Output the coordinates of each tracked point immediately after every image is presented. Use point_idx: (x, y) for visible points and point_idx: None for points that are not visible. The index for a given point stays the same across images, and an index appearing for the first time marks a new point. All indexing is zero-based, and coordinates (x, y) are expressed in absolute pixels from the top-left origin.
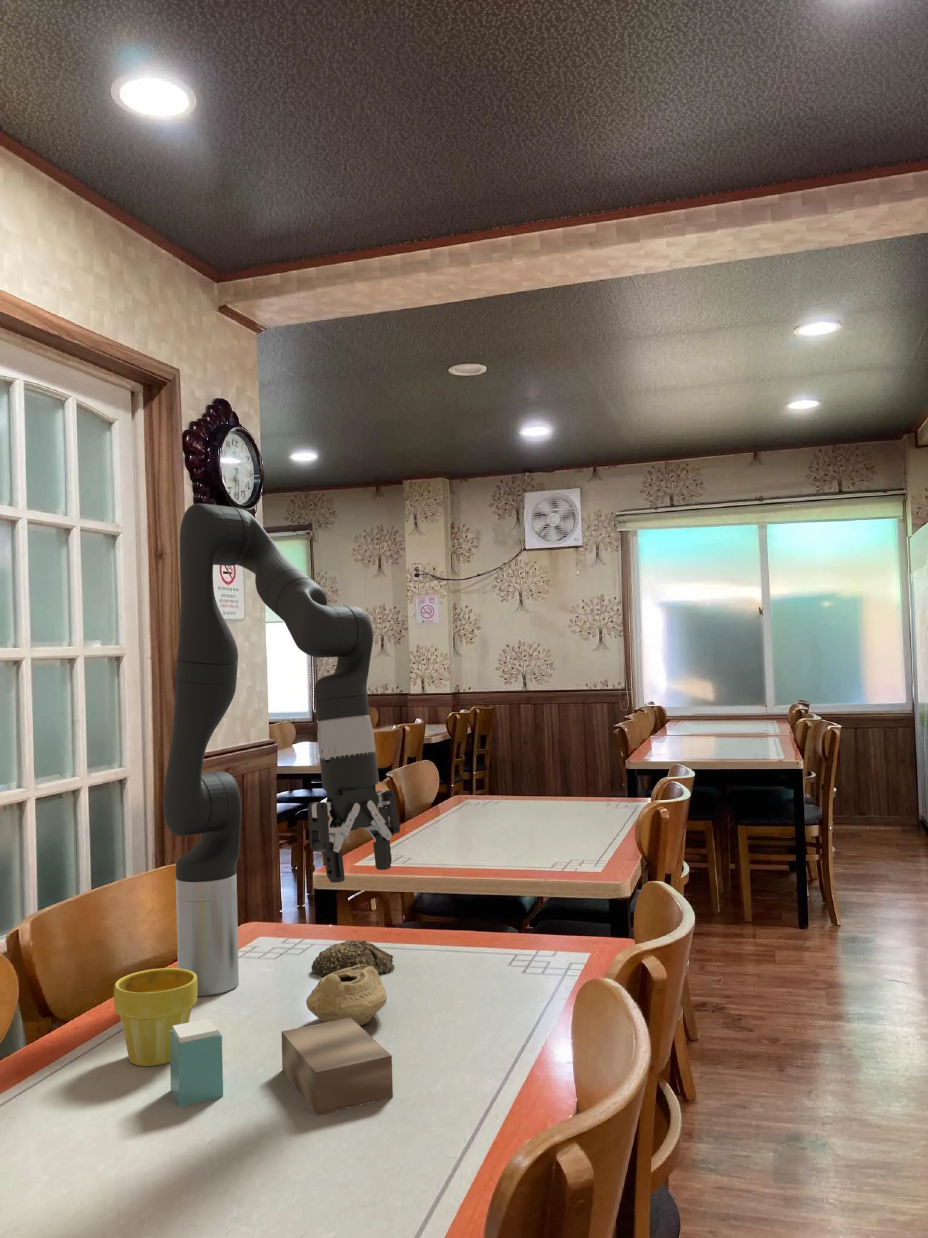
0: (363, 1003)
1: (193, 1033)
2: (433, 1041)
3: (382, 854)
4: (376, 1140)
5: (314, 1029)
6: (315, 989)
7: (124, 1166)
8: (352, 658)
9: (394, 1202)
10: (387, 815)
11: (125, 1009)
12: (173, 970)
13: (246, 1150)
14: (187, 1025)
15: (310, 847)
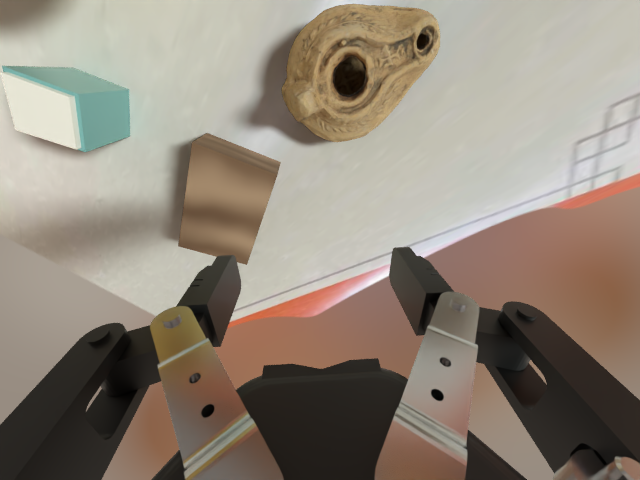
0: (329, 137)
1: (36, 132)
2: (350, 199)
3: (404, 295)
4: None
5: (226, 170)
6: (309, 47)
7: (20, 182)
8: None
9: None
10: (536, 412)
11: None
12: None
13: (124, 229)
14: (27, 94)
15: (85, 335)
